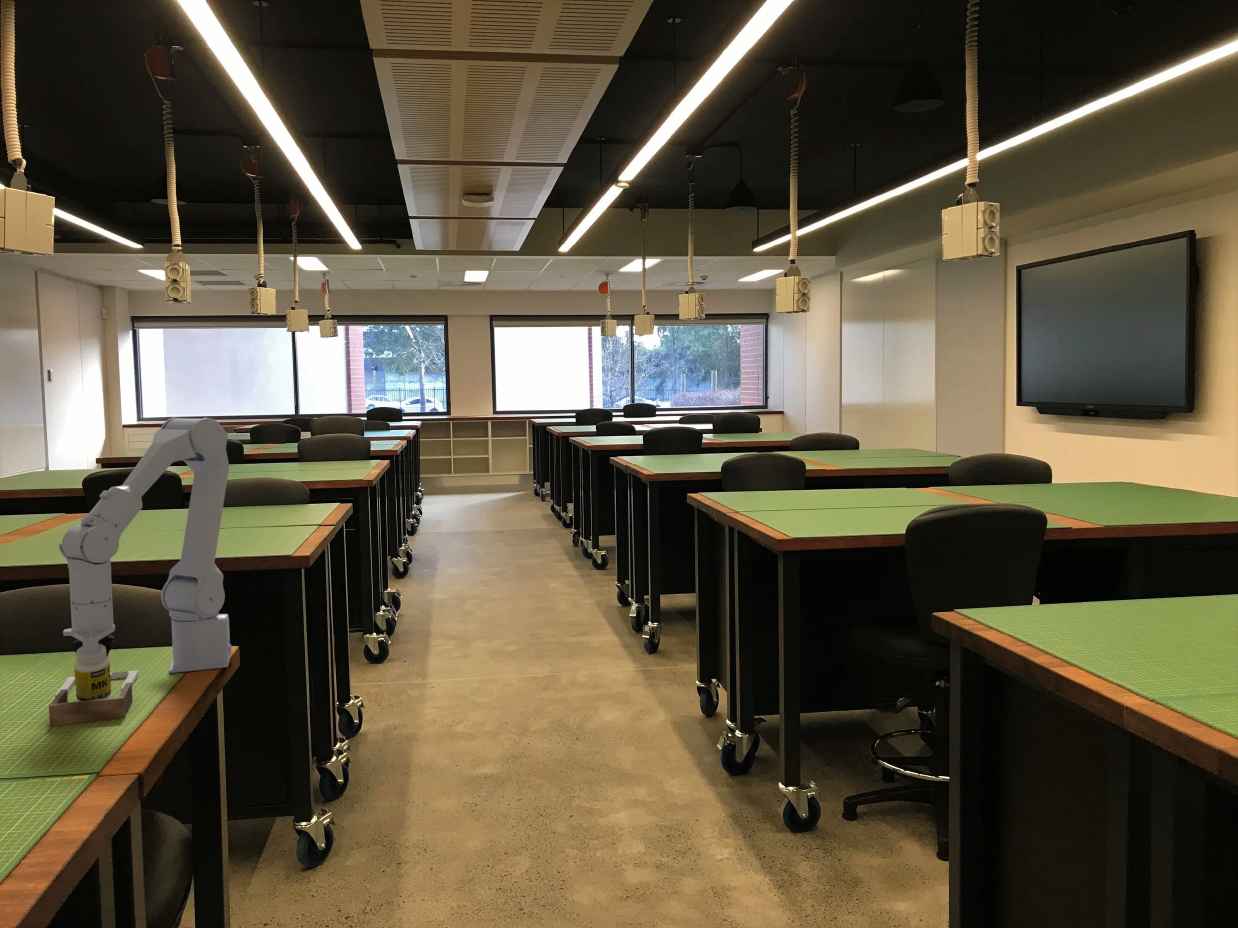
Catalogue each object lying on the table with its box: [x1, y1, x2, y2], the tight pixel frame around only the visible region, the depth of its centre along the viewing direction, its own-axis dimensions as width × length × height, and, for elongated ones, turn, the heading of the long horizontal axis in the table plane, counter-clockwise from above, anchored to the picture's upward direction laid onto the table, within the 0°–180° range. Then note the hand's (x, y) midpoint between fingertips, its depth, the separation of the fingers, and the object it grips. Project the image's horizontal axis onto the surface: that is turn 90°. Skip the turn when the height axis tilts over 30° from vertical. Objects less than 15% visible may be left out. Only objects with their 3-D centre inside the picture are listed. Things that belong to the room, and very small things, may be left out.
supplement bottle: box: [73, 644, 112, 701], centre depth 139 cm, size 5×5×8 cm
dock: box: [54, 669, 139, 698], centre depth 147 cm, size 10×10×1 cm
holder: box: [48, 682, 133, 727], centre depth 135 cm, size 10×8×3 cm
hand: (95, 683), depth 143 cm, fingers closed
